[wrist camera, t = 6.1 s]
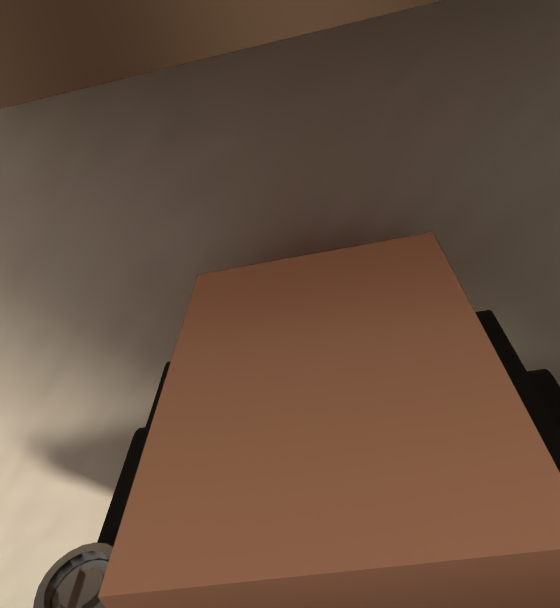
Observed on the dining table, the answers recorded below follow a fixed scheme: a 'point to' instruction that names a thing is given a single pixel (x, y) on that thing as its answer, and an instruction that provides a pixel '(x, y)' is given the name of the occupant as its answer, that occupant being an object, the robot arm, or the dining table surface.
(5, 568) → the dining table surface
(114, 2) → the brown wooden u-shaped block
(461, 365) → the terracotta block
